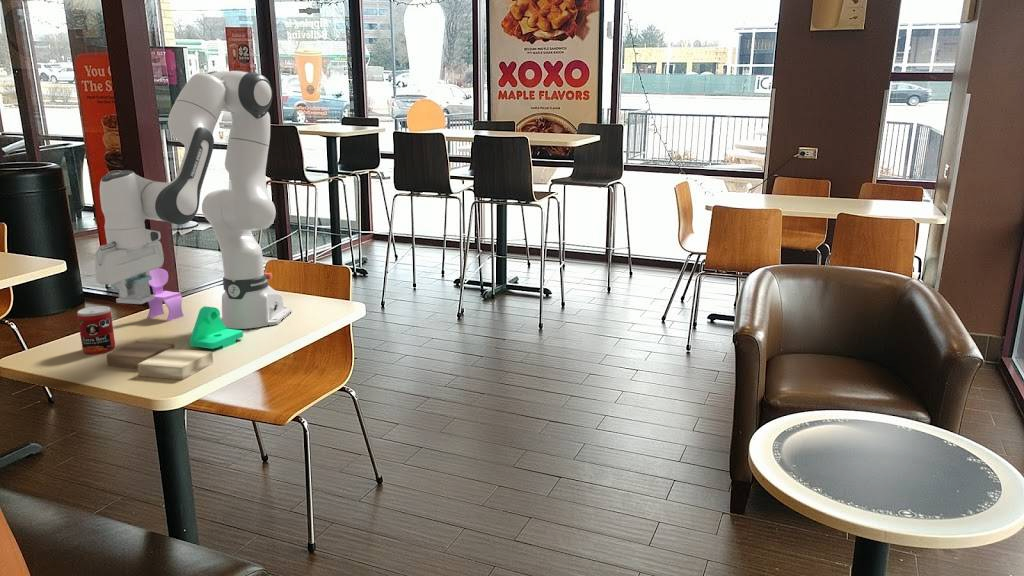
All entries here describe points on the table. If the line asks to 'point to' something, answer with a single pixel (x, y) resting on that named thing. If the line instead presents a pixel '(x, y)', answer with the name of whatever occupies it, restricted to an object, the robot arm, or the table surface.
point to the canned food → (96, 329)
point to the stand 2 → (175, 363)
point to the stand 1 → (136, 353)
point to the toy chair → (163, 296)
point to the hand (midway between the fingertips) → (134, 293)
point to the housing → (137, 290)
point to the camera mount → (212, 330)
